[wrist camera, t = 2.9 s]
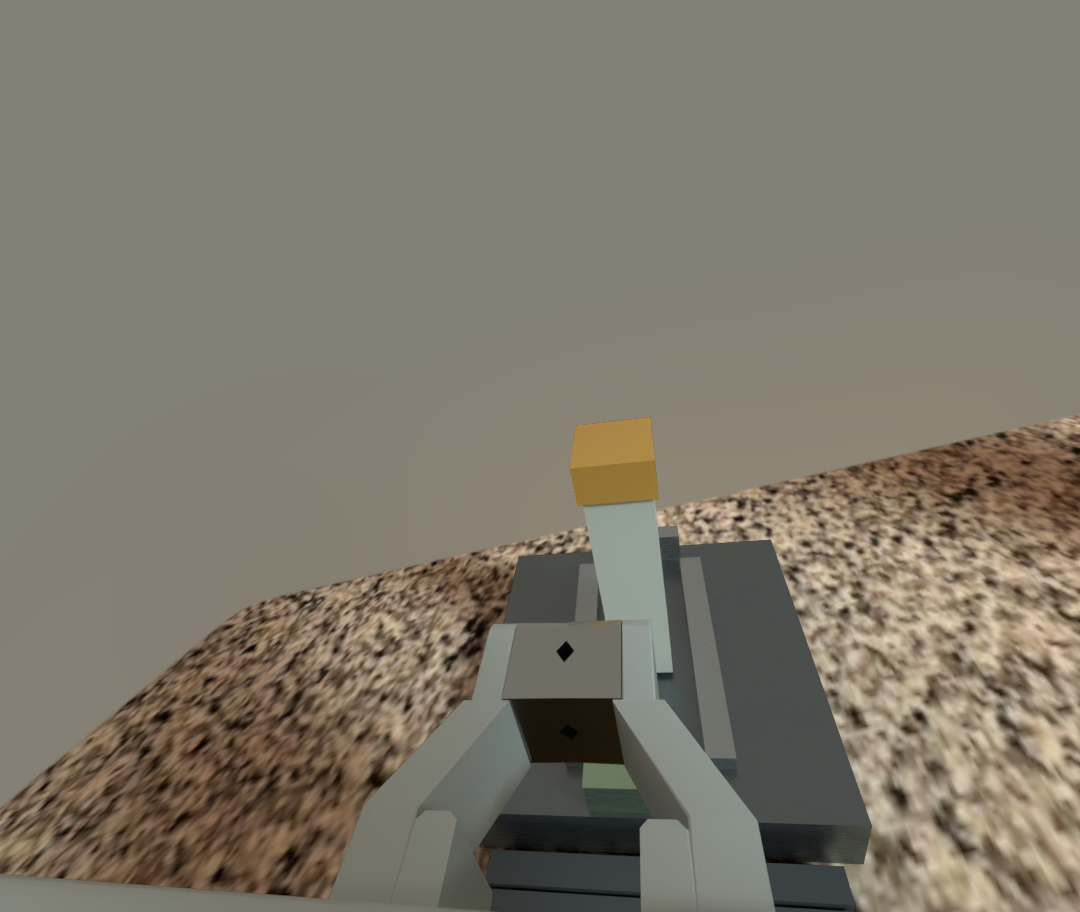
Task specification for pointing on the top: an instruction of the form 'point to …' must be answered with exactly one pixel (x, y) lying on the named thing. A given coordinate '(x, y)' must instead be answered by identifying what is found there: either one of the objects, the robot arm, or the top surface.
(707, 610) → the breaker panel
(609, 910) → the dark grey flat bar
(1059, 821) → the top surface
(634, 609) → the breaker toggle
